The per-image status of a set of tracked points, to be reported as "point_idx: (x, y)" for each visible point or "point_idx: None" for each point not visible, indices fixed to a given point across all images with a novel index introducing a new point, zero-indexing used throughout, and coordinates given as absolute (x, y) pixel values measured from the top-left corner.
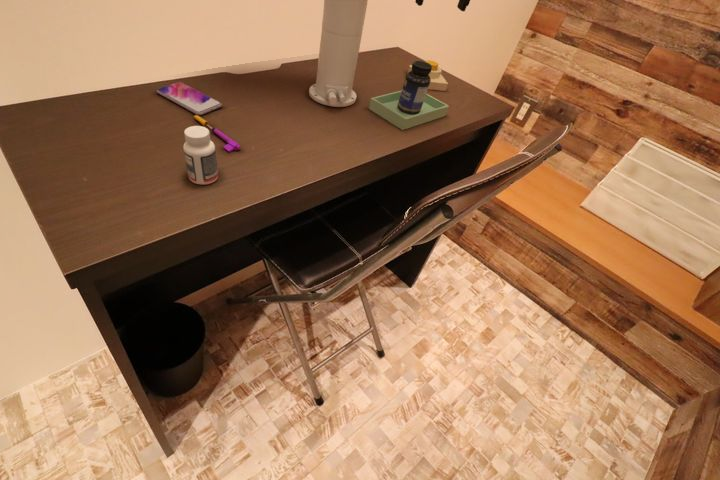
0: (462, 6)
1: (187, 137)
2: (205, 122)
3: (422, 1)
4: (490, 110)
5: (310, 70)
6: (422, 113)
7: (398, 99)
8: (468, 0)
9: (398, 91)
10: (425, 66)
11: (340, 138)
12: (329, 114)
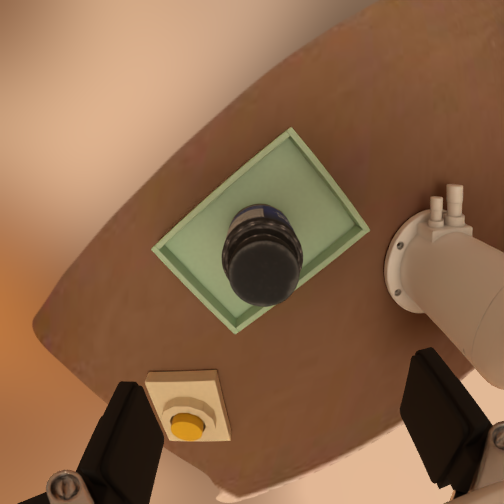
0: (137, 402)
1: None
2: None
3: (427, 360)
4: (58, 303)
5: None
6: (236, 175)
7: None
8: (102, 418)
9: None
10: (256, 260)
11: (424, 75)
12: (443, 173)
